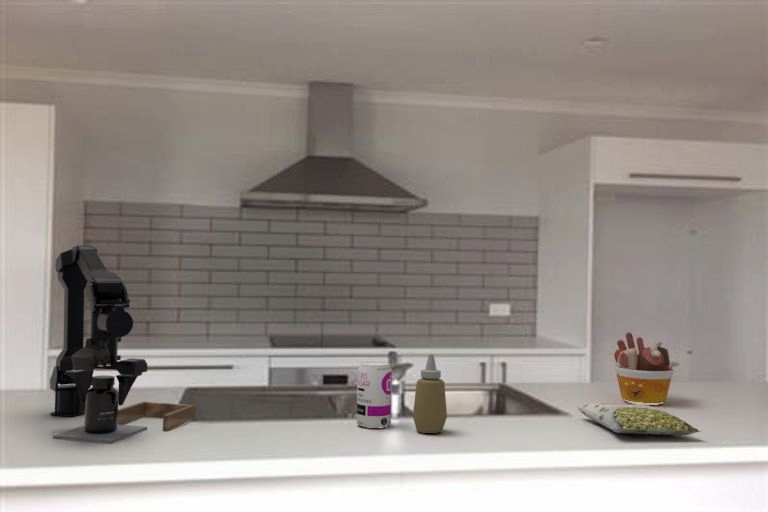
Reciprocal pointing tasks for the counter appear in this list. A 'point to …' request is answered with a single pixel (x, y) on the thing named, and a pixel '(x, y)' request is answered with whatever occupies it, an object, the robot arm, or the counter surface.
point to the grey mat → (111, 437)
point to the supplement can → (374, 394)
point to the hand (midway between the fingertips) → (102, 403)
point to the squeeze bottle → (430, 400)
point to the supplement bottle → (101, 406)
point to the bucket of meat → (643, 371)
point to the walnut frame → (158, 413)
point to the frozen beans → (636, 419)
